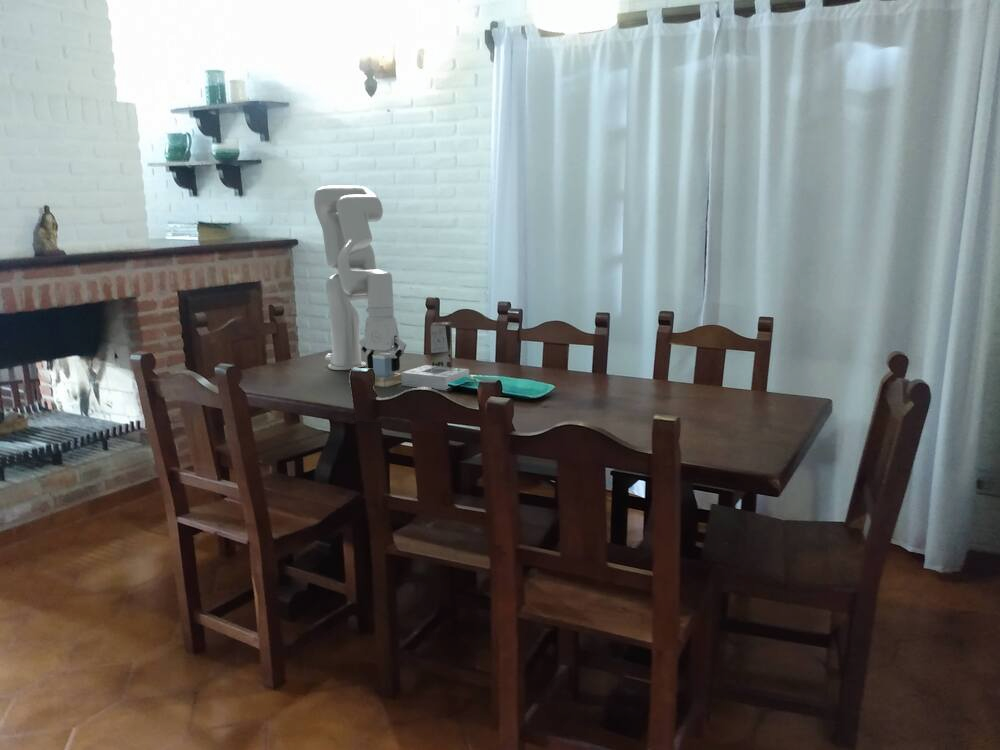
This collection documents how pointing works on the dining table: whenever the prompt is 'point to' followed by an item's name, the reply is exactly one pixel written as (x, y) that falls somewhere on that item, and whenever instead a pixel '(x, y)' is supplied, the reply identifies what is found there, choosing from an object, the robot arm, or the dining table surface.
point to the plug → (382, 365)
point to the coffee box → (441, 344)
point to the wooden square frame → (388, 380)
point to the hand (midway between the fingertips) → (383, 369)
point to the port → (432, 376)
